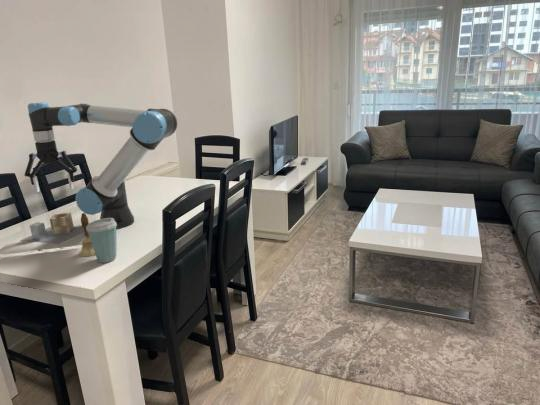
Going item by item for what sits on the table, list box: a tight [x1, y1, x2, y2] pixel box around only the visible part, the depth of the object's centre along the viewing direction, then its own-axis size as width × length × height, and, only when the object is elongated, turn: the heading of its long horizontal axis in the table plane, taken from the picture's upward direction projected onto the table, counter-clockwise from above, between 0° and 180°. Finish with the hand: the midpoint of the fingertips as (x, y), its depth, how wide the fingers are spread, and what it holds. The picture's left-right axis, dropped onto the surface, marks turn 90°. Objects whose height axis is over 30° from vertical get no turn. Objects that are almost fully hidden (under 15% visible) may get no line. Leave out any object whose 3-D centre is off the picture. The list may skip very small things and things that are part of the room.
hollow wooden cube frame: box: [49, 212, 75, 234], centre depth 186 cm, size 7×7×7 cm
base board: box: [20, 226, 84, 245], centre depth 183 cm, size 20×19×2 cm
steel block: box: [29, 222, 47, 241], centre depth 178 cm, size 4×4×8 cm
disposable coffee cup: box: [86, 218, 117, 263], centre depth 156 cm, size 11×11×15 cm
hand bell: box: [78, 212, 96, 258], centre depth 163 cm, size 8×8×16 cm
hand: (55, 190), depth 181 cm, fingers open, 13 cm apart
